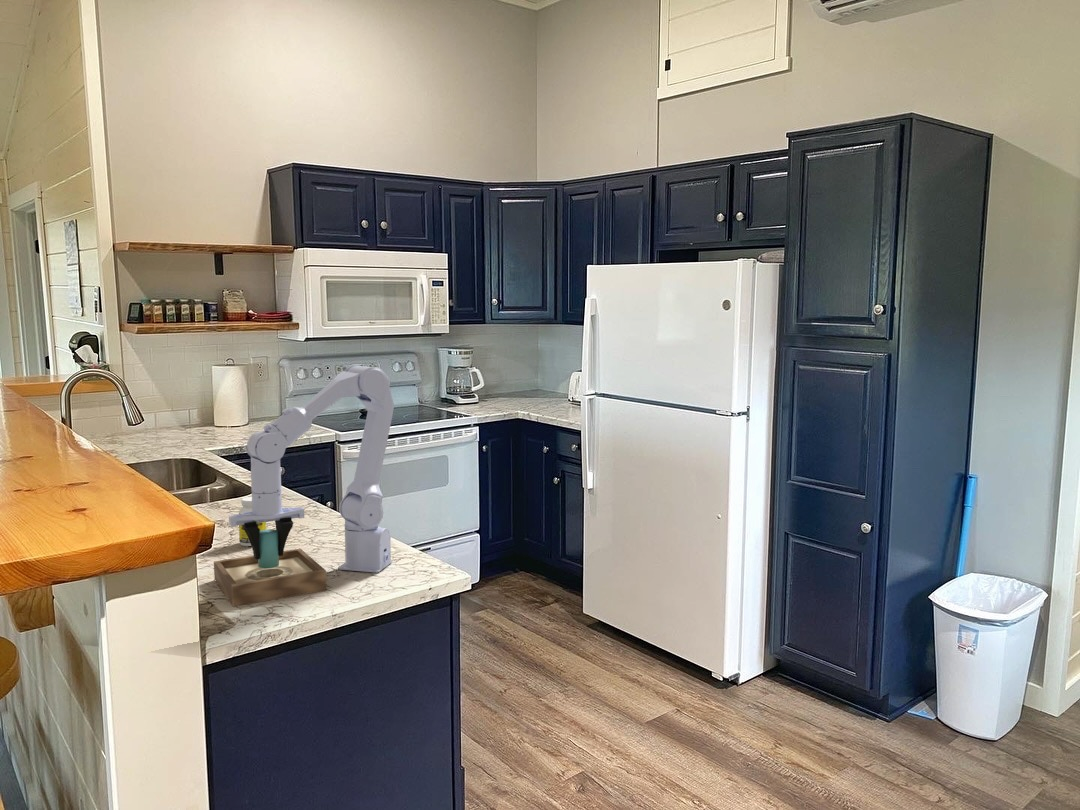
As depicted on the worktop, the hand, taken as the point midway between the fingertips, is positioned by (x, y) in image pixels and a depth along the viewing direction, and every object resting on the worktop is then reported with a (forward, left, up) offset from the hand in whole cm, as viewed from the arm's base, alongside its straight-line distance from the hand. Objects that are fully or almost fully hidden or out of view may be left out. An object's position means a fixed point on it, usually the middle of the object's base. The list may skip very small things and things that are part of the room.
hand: (268, 556), depth 167 cm
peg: (0, 0, -2) cm, 2 cm away
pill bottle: (+20, -26, -6) cm, 33 cm away
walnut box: (0, 0, -6) cm, 6 cm away
